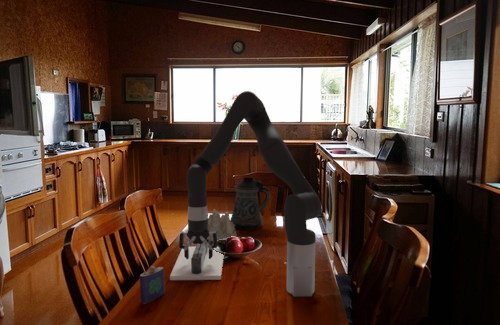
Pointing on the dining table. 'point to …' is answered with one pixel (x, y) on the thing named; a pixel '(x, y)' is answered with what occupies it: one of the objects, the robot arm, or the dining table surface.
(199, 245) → the tongs arm
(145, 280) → the flask
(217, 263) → the cutting board
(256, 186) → the beer stein
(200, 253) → the arm
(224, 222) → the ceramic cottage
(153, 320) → the dining table surface
